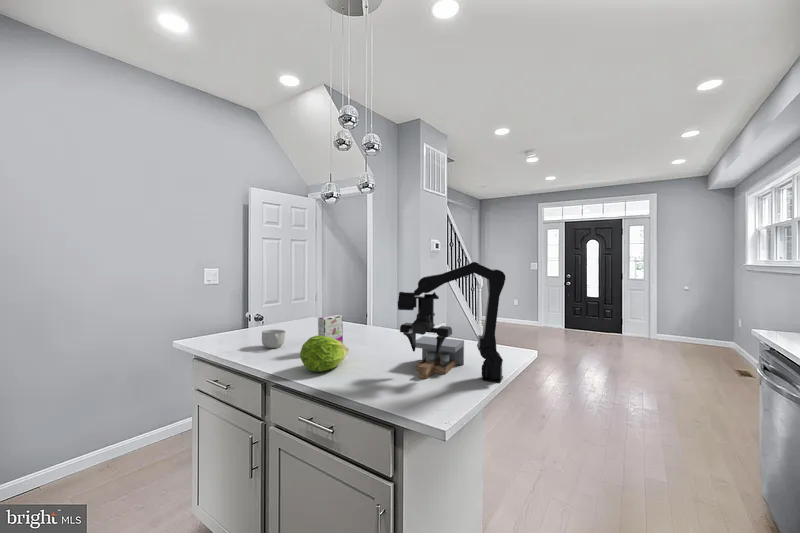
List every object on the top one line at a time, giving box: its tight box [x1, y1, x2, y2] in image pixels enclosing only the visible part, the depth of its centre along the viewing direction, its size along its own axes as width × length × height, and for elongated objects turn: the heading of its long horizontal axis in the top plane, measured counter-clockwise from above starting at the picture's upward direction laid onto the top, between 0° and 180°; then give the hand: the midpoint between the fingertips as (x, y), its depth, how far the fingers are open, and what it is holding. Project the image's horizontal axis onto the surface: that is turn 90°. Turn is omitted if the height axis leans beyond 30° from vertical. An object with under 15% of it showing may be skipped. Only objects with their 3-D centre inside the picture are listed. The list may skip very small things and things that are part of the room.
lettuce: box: [299, 335, 350, 373], centre depth 144 cm, size 15×24×14 cm, turn 152°
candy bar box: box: [317, 314, 344, 344], centre depth 167 cm, size 11×5×16 cm, turn 143°
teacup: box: [261, 329, 286, 349], centre depth 174 cm, size 14×11×8 cm
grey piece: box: [415, 335, 465, 366], centre depth 146 cm, size 18×12×10 cm
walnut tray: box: [415, 351, 456, 380], centre depth 140 cm, size 12×20×6 cm, turn 154°
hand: (425, 352), depth 133 cm, fingers open, 9 cm apart
